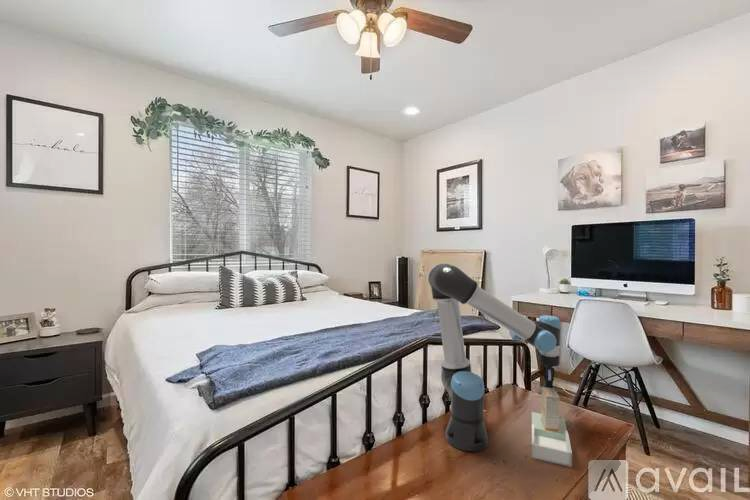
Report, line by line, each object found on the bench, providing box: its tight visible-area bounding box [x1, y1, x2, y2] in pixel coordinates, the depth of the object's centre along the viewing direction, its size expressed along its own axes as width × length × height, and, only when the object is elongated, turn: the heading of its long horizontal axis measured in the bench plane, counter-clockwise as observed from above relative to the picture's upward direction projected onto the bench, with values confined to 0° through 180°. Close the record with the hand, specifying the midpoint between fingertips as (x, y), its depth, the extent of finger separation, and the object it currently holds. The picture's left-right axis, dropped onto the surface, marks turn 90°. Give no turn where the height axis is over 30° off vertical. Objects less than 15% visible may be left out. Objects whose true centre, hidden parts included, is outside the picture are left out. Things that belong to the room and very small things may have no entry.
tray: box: [531, 423, 573, 468], centre depth 124 cm, size 12×16×4 cm
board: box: [531, 411, 568, 441], centre depth 137 cm, size 12×14×3 cm
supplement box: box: [540, 386, 560, 431], centre depth 135 cm, size 8×5×13 cm, turn 165°
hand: (548, 411), depth 143 cm, fingers closed
